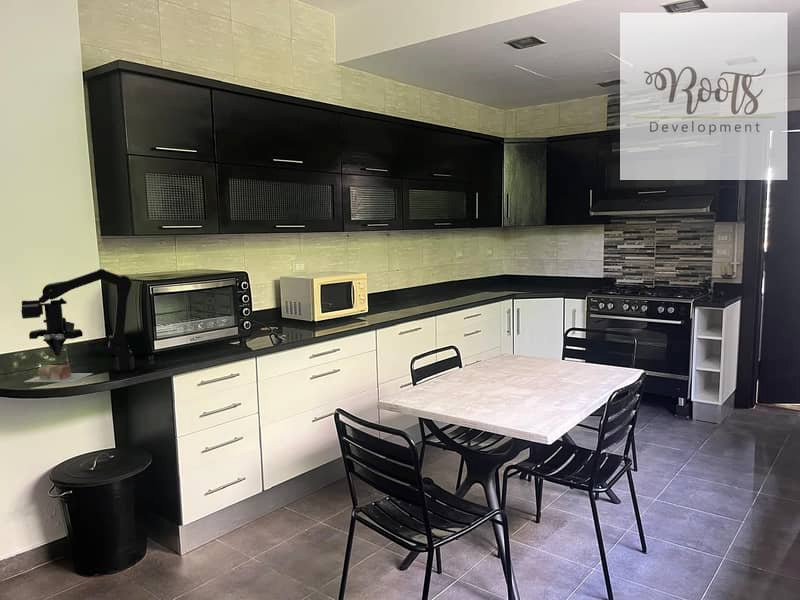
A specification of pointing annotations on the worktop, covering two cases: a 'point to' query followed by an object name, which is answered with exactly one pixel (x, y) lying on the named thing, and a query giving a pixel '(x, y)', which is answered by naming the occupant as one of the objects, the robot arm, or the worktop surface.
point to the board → (70, 379)
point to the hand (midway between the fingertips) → (58, 355)
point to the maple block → (55, 372)
